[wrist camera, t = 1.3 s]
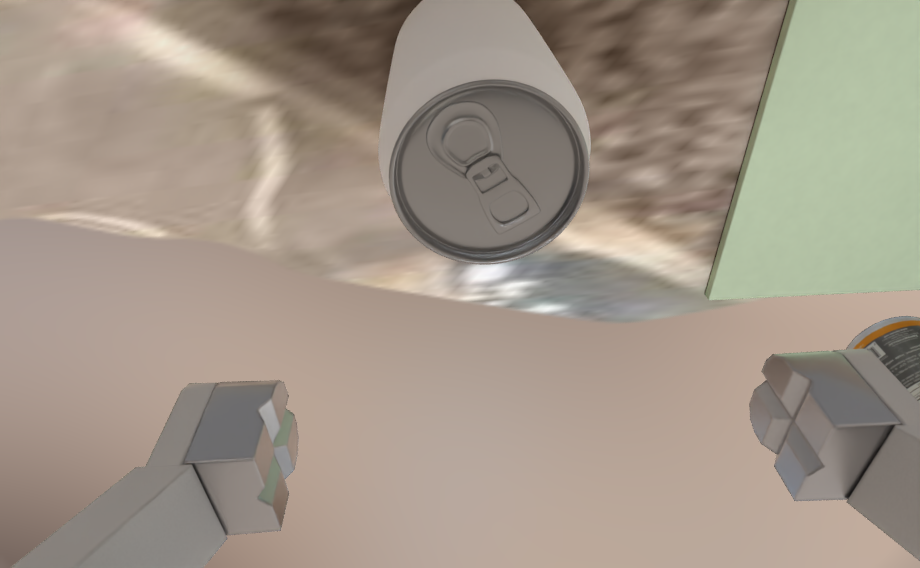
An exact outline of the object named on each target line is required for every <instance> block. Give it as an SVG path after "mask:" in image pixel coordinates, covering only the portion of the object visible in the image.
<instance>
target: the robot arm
mask: <svg viewBox="0 0 920 568" xmlns="http://www.w3.org/2000/svg"><path fill="white" fill-rule="evenodd" d="M762 373H763V374H764V376H765V378H766V379H767V380H766V381H765V382H763V383H762V384H761V385H760V386H758V387H757V388H756V389H755V390H754V392H753V395H752V398H751V401H750V420H751V423H752V426H753V429H754V432H755V433H756V435H757V437H758V439H759V441H760V443H761V444H762V445H764V446H765V447H767V448H768V449H770V450H771V451H772V452H774V453H775V454H777V456H776V460H775V464H774V467H775V469H776V470H777V472H778V473H779V475H780V477H781V479H782V480H783V482H784V484H785V485H786V487H787V489H788V491H789V492H790V494H791V496H792V497H793V499H794V501H811V500H812V501H813V500H843V499H848V500H847V503H848V504H850V505H851V506H852V507H853V508H854V509H856V510H857V511H858V512H859V513H861V514H862V515H863V516H864V517H866V518H867V519H868V520H869V521H871V522H872V523H873V524H875V525H876V526H877V527H878V528H879V529H881V530H882V531H883V532H884V533H886V534H887V535H888V536H889V537H890V538H892V539H893V540H894V541H896V542H897V543H898V544H899V545H901V546H902V547H903V548H904V549H905V550H907V551H908V552H909V553H911V554H912V555H913V556H914V557H915V558H917V559H918V560H919V561H920V403H919V402H918V401H917V400H916V399H915V398H914V396H913V395H912V394H911V393H910V392H909V391H908V390H907V389H906V388H905V387H904V386H903V385H902V384H901V382H900V381H899V380H898V379H897V378H896V377H895V376H894V375H893V374H892V373H891V372H890V371H889V370H888V368H887V367H886V366H885V365H884V364H883V363H882V362H881V361H880V360H879V359H878V358H877V357H876V356H875V354H873V353H872V352H870V351H868V350H866V349H849V350H834V351H818V352H801V353H785V354H773V355H772V356H770V357H769V358H768V359H767V360H766V362H765V365H764V367H763V369H762ZM288 397H289V395H288V393H287V390H286V387H285V384H284V382H282V381H280V380H279V381H278V380H277V381H243V382H241V381H240V382H220V383H190V384H188V385H187V386H186V387H185V388H184V389H183V390H182V391H181V393H180V395H179V397H178V399H177V401H176V403H175V405H174V407H173V409H172V412H171V414H170V416H169V418H168V420H167V422H166V424H165V426H164V429H163V431H162V433H161V435H160V437H159V439H158V441H157V443H156V445H155V448H154V449H153V451H152V454H151V456H150V458H149V460H148V462H147V464H146V466H145V467H136V468H134V469H133V470H132V471H130V472H129V473H128V474H127V475H125V476H124V477H123V478H122V479H121V480H119V481H118V482H117V483H115V484H114V485H113V486H112V487H111V488H109V489H108V490H107V491H105V492H104V493H103V494H102V495H100V496H99V497H98V498H97V499H96V500H94V501H93V502H92V503H91V504H89V505H88V506H87V507H86V508H84V509H83V510H82V511H81V512H79V513H78V514H77V515H76V516H74V517H73V518H72V519H71V520H69V521H68V522H67V523H66V524H64V525H63V526H62V527H61V528H59V529H58V530H57V531H56V532H54V533H53V534H52V535H51V536H49V537H48V538H47V539H46V540H44V541H43V542H42V543H41V544H39V545H38V546H37V547H36V548H34V549H33V550H32V551H31V552H29V553H28V554H27V555H26V556H24V557H23V558H22V559H21V560H19V561H18V562H17V563H16V564H14V565H13V566H12V567H11V568H203V567H204V566H205V565H206V564H207V563H208V561H209V560H210V559H211V558H212V557H213V555H214V554H215V553H216V552H217V551H218V549H219V548H220V547H221V546H222V544H223V543H224V542H225V541H226V540H227V536H226V535H236V534H248V533H260V532H271V531H281V527H282V522H283V518H284V514H285V509H286V505H287V501H288V496H289V491H288V488H287V485H286V483H285V479H286V478H287V477H288V476H289V475H290V474H291V473H292V472H293V471H294V469H295V464H296V459H297V454H298V430H297V423H296V420H295V416H294V414H293V413H292V412H290V411H289V410H287V409H286V405H287V401H288Z"/></svg>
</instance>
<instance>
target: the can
mask: <svg viewBox="0 0 920 568" xmlns="http://www.w3.org/2000/svg"><path fill="white" fill-rule="evenodd" d="M590 151H591V137H590V129H589V124H588V120H587V116H586V113H585V110H584V107H583V105H582V102H581V100H580V98H579V96H578V94H577V92H576V91H575V89H574V87H573V85H572V84H571V82H570V80H569V79H568V77H567V76H566V74H565V72H564V71H563V69H562V68H561V66H560V64H559V63H558V61H557V60H556V58H555V57H554V55H553V53H552V52H551V50H550V49H549V47H548V46H547V44H546V43H545V41H544V40H543V38H542V37H541V35H540V33H539V32H538V30H537V29H536V27H535V26H534V24H533V23H532V22H531V20H530V19H529V17H528V16H527V15H526V13H525V12H524V11H523V9H522V8H521V7H520V6H519V5H518V4H517V3H516V2H515V1H514V0H422V1H421V2H420V3H419V4H418V5H417V6H416V7H415V8H414V10H413V11H412V12H411V13H410V14H409V16H408V17H407V19H406V20H405V22H404V23H403V25H402V27H401V29H400V32H399V34H398V37H397V40H396V44H395V48H394V53H393V58H392V63H391V68H390V74H389V79H388V84H387V90H386V96H385V101H384V107H383V113H382V119H381V125H380V133H379V144H378V155H379V165H380V171H381V176H382V179H383V183H384V185H385V188H386V190H387V192H388V195H389V196H390V198H391V200H392V202H393V205H394V207H395V210H396V212H397V214H398V216H399V218H400V220H401V221H402V223H403V224H404V226H405V227H406V228H407V230H408V231H409V232H410V233H411V234H412V235H413V236H414V237H415V238H416V239H417V240H418V241H419V242H420V243H422V244H423V245H424V246H426V247H427V248H429V249H430V250H432V251H433V252H435V253H437V254H439V255H441V256H444V257H446V258H449V259H452V260H455V261H459V262H464V263H470V264H498V263H504V262H509V261H513V260H517V259H520V258H522V257H525V256H527V255H530V254H532V253H534V252H536V251H538V250H539V249H541V248H543V247H544V246H546V245H547V244H549V243H550V242H551V241H553V240H554V239H555V238H556V237H557V236H558V235H559V234H561V233H562V231H563V230H564V229H565V228H566V227H567V226H568V225H569V223H570V222H571V221H572V219H573V218H574V216H575V215H576V213H577V212H578V210H579V208H580V206H581V204H582V201H583V199H584V196H585V193H586V190H587V185H588V180H589V159H590Z"/></svg>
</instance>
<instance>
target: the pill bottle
mask: <svg viewBox="0 0 920 568" xmlns="http://www.w3.org/2000/svg"><path fill="white" fill-rule="evenodd" d="M849 349H866V350H868V351H870V352H872V353H873V354H875V356H876V357H877V358H878V359H879V360H880V361H881V362H882V363H883V364H884V365H885V366H886V367H887V368H888V370H889V371H890V372H891V373H892V374H893V375H894V376H895V377H896V378H897V379H898V380H899V381H900V382H901V384H902V385H903V386H904V387H905V388H906V389H907V390H908V391H909V392H910V393H911V394H912V395H913V396H914V398H915V399H916V400H917V401H918V402H919V403H920V318H917V317H911V316H901V317H894V318H889V319H886V320H883V321H880V322H878V323H875V324H874V325H872V326H870V327H868V328H867V329H865V330H864V331H862V332H861V333H860V334H859V335H857V336H856V337H855V338H854V339H853V340H852V342H851V343H850V344H849V345H848V347H847V349H846V350H849Z"/></svg>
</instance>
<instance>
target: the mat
mask: <svg viewBox="0 0 920 568" xmlns="http://www.w3.org/2000/svg"><path fill="white" fill-rule="evenodd" d="M907 290H920V0H790V1H789V5H788V8H787V12H786V15H785V19H784V22H783V26H782V29H781V33H780V36H779V39H778V43H777V46H776V50H775V53H774V57H773V60H772V64H771V67H770V71H769V74H768V78H767V81H766V85H765V88H764V91H763V95H762V98H761V102H760V105H759V109H758V112H757V116H756V119H755V123H754V126H753V130H752V133H751V137H750V140H749V144H748V147H747V150H746V154H745V157H744V161H743V164H742V168H741V171H740V175H739V178H738V182H737V185H736V189H735V192H734V196H733V199H732V203H731V206H730V209H729V213H728V216H727V220H726V223H725V227H724V230H723V234H722V237H721V241H720V244H719V248H718V251H717V255H716V258H715V262H714V265H713V268H712V272H711V275H710V279H709V282H708V286H707V289H706V293H705V295H706V297H707V298H708V300H723V299H744V298H764V297H783V296H805V295H824V294H845V293H865V292H886V291H907Z"/></svg>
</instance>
